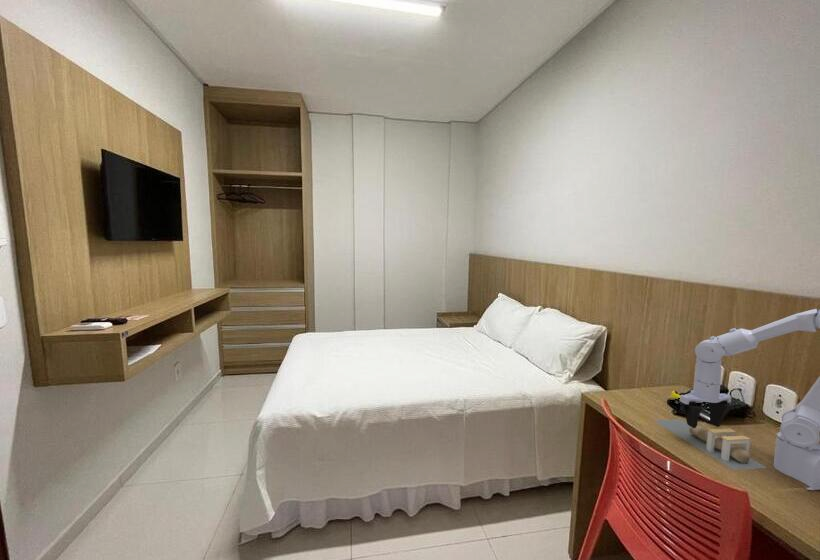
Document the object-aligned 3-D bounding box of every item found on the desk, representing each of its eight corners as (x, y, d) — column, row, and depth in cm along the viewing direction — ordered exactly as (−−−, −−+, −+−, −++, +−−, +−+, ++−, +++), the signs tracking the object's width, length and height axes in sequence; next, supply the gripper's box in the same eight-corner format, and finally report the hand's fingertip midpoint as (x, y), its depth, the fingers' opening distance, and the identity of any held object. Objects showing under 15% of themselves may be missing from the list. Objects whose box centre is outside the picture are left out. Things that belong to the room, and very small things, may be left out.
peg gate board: (767, 470, 86) (770, 445, 85) (733, 472, 85) (735, 447, 84) (679, 421, 110) (681, 402, 110) (652, 422, 109) (653, 402, 109)
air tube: (747, 465, 87) (752, 453, 87) (737, 461, 87) (742, 449, 87) (696, 436, 101) (700, 426, 101) (687, 432, 101) (692, 422, 101)
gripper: (715, 375, 101) (711, 418, 102) (672, 376, 100) (668, 419, 101) (740, 384, 94) (736, 430, 95) (694, 386, 93) (690, 432, 94)
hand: (703, 425), depth 98 cm, fingers open, 7 cm apart
